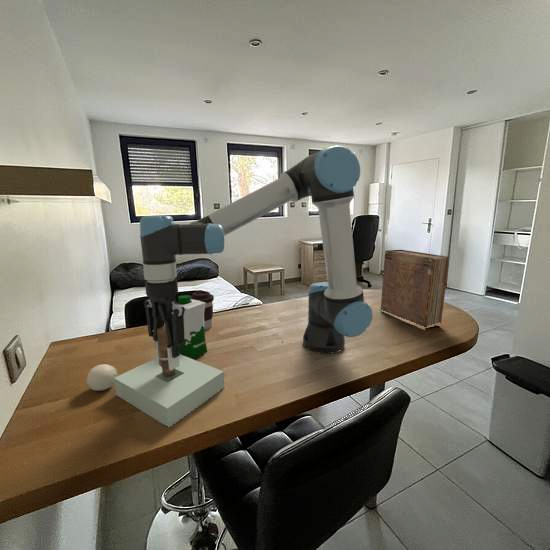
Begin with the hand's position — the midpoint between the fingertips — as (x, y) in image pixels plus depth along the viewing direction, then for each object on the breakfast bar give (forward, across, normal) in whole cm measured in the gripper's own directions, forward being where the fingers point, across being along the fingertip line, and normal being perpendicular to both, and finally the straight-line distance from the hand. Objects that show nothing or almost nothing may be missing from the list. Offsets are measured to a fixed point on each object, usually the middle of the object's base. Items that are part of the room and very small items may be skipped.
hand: (168, 364), depth 76 cm
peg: (+3, 0, 0) cm, 3 cm away
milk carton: (+8, +12, -18) cm, 23 cm away
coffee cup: (+8, +26, -36) cm, 45 cm away
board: (+8, 0, 0) cm, 8 cm away
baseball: (+8, +17, +9) cm, 21 cm away
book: (+8, -45, -93) cm, 104 cm away
